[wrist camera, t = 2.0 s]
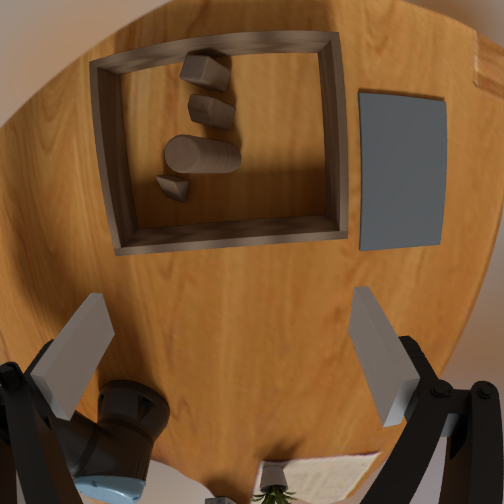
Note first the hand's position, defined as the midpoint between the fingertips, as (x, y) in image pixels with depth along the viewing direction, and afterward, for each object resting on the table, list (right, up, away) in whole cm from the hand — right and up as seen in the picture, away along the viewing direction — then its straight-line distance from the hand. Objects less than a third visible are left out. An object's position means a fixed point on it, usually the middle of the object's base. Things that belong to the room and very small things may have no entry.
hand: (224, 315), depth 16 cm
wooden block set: (-4, +18, +23) cm, 29 cm away
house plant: (+5, -53, +52) cm, 74 cm away
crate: (-2, +17, +23) cm, 29 cm away
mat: (+23, +14, +24) cm, 36 cm away
